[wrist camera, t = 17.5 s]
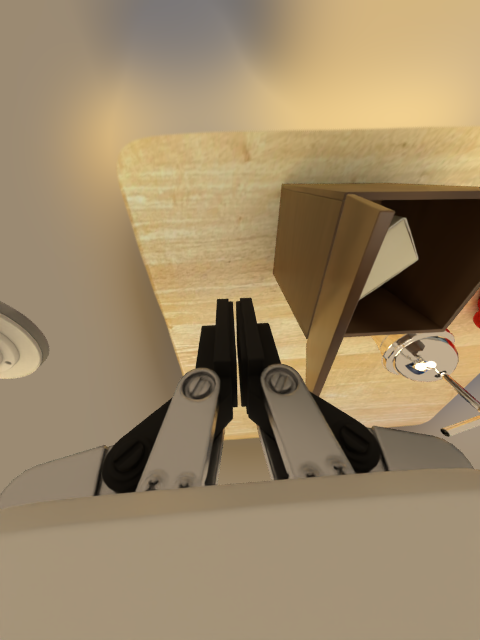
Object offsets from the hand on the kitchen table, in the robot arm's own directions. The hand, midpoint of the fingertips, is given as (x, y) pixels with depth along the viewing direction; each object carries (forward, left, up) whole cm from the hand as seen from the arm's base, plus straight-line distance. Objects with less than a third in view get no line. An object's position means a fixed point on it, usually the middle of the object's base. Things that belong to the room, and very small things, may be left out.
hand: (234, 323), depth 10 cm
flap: (+4, +4, -1) cm, 5 cm away
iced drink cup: (+26, +8, -19) cm, 33 cm away
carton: (+9, +9, -19) cm, 23 cm away
